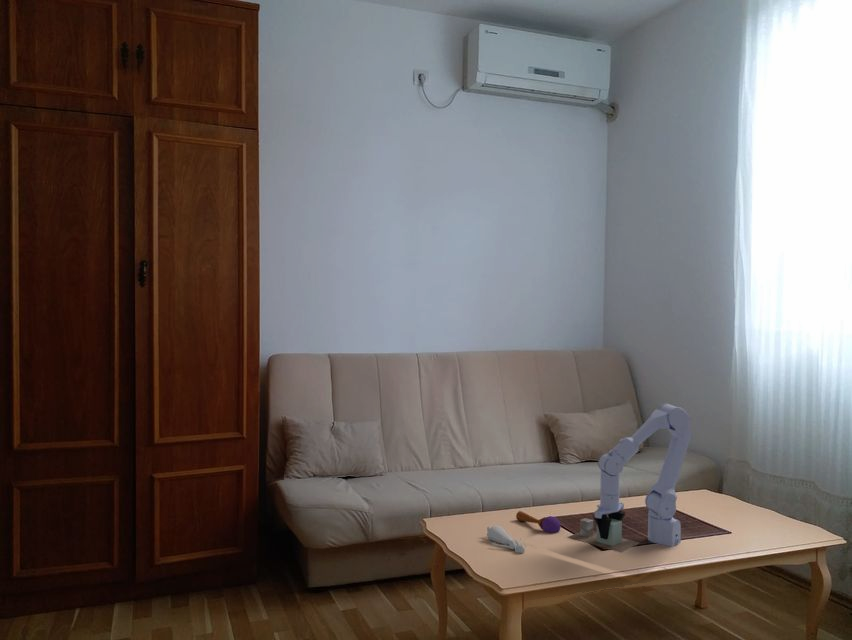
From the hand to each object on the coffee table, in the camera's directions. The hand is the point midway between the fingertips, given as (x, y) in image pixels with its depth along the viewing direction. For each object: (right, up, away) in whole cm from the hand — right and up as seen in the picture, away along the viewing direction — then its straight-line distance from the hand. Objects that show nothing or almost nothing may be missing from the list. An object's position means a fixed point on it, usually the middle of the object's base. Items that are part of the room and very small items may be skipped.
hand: (609, 536), depth 220 cm
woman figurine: (-32, -3, 0) cm, 32 cm away
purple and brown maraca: (-20, -3, +17) cm, 26 cm away
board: (-1, -3, +1) cm, 4 cm away
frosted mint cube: (0, -2, 0) cm, 2 cm away
